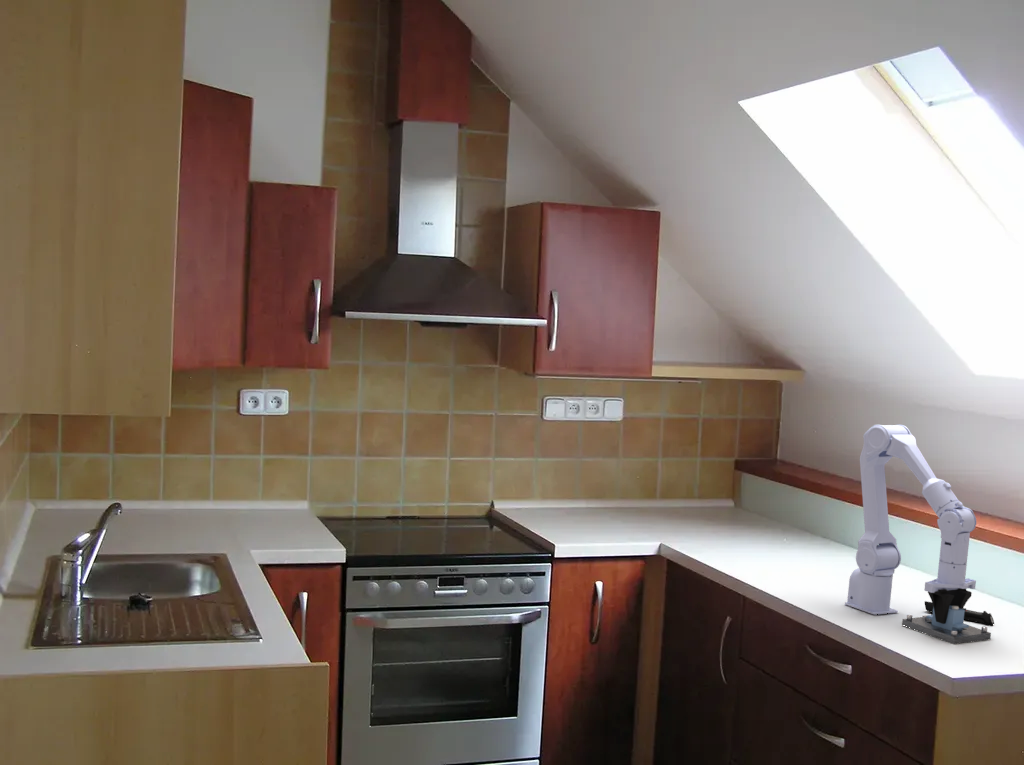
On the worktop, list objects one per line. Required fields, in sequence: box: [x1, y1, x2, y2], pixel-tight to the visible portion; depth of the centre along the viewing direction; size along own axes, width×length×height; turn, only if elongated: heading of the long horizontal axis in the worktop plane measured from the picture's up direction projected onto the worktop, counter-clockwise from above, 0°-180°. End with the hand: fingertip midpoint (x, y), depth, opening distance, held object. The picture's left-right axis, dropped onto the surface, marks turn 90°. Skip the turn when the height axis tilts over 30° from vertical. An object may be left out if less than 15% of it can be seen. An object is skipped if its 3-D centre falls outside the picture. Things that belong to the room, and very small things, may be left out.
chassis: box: [901, 614, 992, 645], centre depth 248 cm, size 14×12×2 cm
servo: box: [926, 605, 970, 631], centre depth 248 cm, size 8×4×6 cm, turn 30°
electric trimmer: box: [924, 600, 995, 627], centre depth 262 cm, size 4×16×3 cm, turn 59°
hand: (946, 621), depth 248 cm, fingers closed on servo, 3 cm apart
